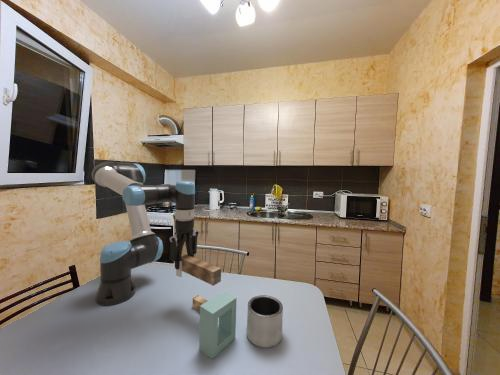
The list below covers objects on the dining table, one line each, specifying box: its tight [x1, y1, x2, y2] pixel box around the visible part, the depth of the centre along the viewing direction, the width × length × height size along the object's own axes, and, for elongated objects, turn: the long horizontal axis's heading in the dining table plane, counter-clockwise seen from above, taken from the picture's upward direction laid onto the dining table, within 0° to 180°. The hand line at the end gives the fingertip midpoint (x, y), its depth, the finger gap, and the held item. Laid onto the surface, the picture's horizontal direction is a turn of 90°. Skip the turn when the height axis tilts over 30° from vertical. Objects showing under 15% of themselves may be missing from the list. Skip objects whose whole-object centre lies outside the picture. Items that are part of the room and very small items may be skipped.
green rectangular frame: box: [198, 291, 237, 360], centre depth 71 cm, size 6×11×14 cm, turn 143°
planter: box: [246, 294, 284, 348], centre depth 75 cm, size 13×13×11 cm
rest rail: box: [192, 295, 208, 313], centre depth 87 cm, size 12×3×4 cm, turn 53°
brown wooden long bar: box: [181, 252, 222, 287], centre depth 84 cm, size 22×4×5 cm, turn 55°
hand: (183, 273), depth 89 cm, fingers closed on brown wooden long bar, 4 cm apart
